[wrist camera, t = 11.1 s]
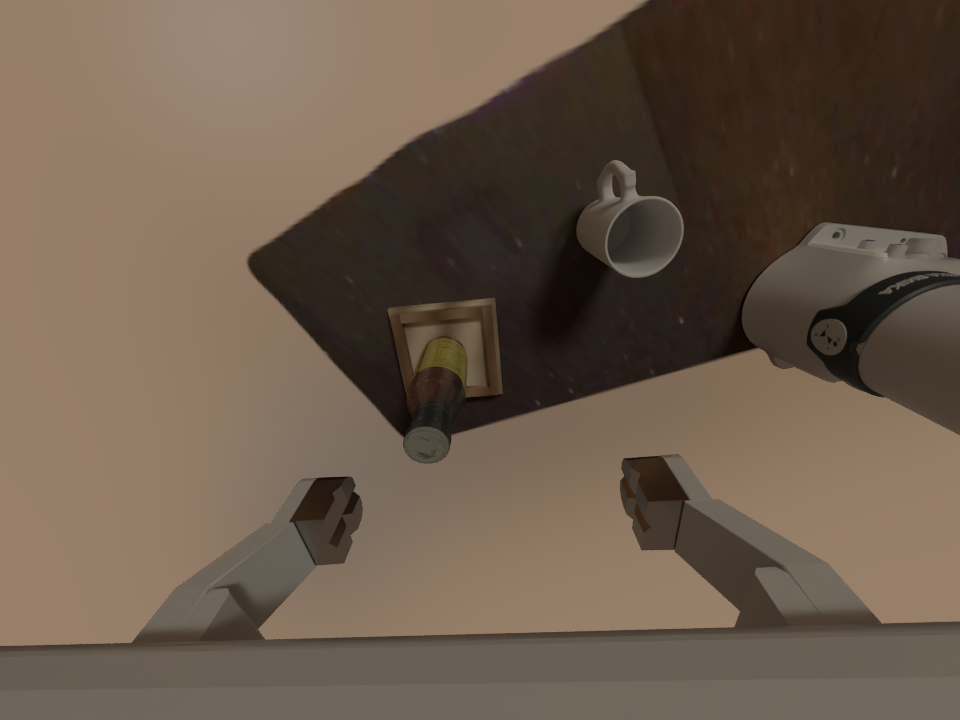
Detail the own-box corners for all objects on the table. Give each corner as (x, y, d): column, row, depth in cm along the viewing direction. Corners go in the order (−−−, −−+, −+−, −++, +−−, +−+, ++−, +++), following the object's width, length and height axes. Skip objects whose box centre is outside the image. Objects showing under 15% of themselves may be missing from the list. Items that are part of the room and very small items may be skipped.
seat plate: (494, 298, 45) (495, 302, 43) (502, 390, 51) (502, 397, 49) (389, 307, 46) (385, 312, 44) (409, 397, 52) (406, 404, 50)
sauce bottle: (445, 382, 49) (421, 489, 32) (413, 352, 47) (369, 448, 30) (479, 354, 48) (475, 452, 30) (447, 322, 46) (423, 406, 28)
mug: (634, 245, 42) (686, 264, 31) (579, 263, 43) (611, 287, 32) (622, 155, 38) (677, 139, 27) (561, 177, 39) (591, 170, 28)
